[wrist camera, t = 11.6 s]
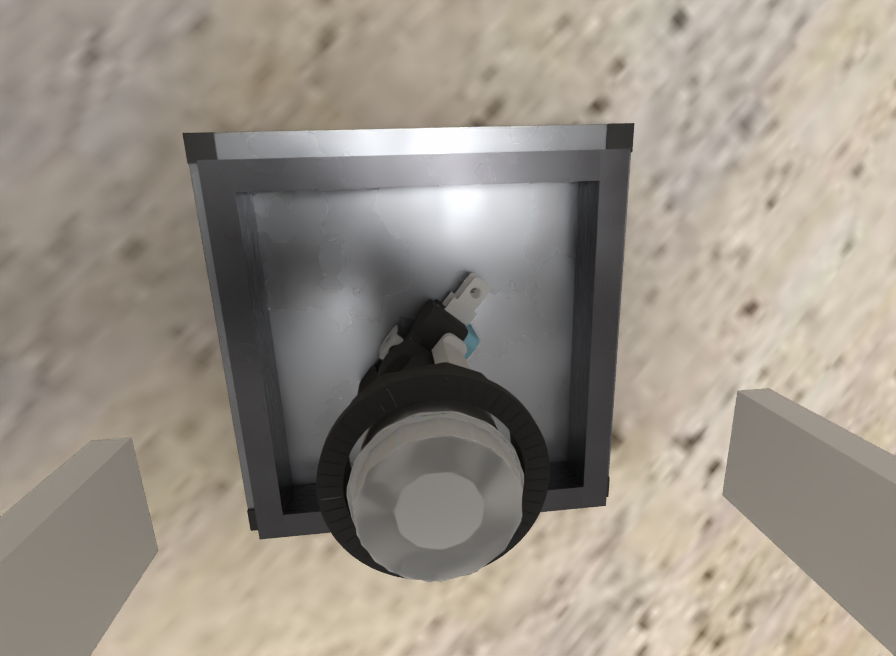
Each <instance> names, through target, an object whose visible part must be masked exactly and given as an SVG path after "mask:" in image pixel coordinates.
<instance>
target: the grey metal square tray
mask: <svg viewBox="0 0 896 656" xmlns="http://www.w3.org/2000/svg"><path fill="white" fill-rule="evenodd" d="M633 134H634V123H623V124H591V125H546V126H500V127H454V128H408V129H362V130H316V131H271V132H225V133H213V132H209V133H183V139H184V145H185V151H186V156H187V162H188V164H189V167H190V173H191V179H192V185H193V191H194V196H195V202H196V208H197V214H198V220H199V226H200V232H201V237H202V243H203V249H204V255H205V261H206V267H207V272H208V278H209V284H210V290H211V296H212V302H213V308H214V313H215V319H216V325H217V331H218V337H219V343H220V348H221V354H222V360H223V366H224V372H225V378H226V384H227V389H228V395H229V401H230V407H231V413H232V419H233V425H234V430H235V436H236V442H237V448H238V454H239V460H240V465H241V471H242V477H243V483H244V489H245V495H246V501H247V506H248V511H247V512H248V518H249V523H250V529H251V531H253V530H258V532H259V538H260V539H268V538H279V537H289V536H299V535H310V534H320V533H330V530H329V528H328V527H327V525H326V523H325V521H324V519H323V516H322V514H321V511H320V507H319V504H318V498H317V492H316V477H317V468H318V463H319V459H320V455H321V452H322V448H323V445H324V443H325V440H326V438H327V436H328V434H329V432H330V430H331V428H332V426H333V425H334V423H335V422H336V420H337V418H338V417H339V416H340V415H341V414H342V412H343V411H344V410H345V409H346V408H347V407H348V406H349V405H350V404H351V401H352V400H353V399H354V398H355V397H356V396H357V393H358V388H359V384H360V382H361V380H362V378H363V377H364V376H365V374H366V373H367V372H368V370H369V369H370V368H371V367H372V366H375V367H376V368H378V369H379V367H380V365H381V363H382V361H383V360H382V359H380V358H379V356H380V354H379V352H380V345H381V344H382V342H383V341H384V339H385V338H386V337H387V335H388V334H389V333H390V331H391V330H392V329H393V327H394V326H396V325H397V326H398V335H399V336H400V337H402V338H403V339H405V337H406V336H407V335H408V334H409V332H410V331H411V329H412V327H413V325H414V323H415V320H416V318H417V316H418V314H419V312H420V311H421V309H422V308H423V307H424V305H425V304H426V303H427V302H428V301H429V300H430V299H432V300H433V301H434V300H436V299H437V300H439V301H440V302H442V303H443V301H444V300H445V299H446V298H447V296H448V295H449V294H450V292H452V293H455V292H456V291H457V290H458V288H459V287H460V286H461V284H462V283H463V282H464V281H465V279H466V278H467V277H468V275H469V274H470V273H475V274H476V275H477V276H478V277H480V278H481V279H482V280H484V281H485V282H486V284H487V285H489V286H490V287H491V291H490V292H489V294H488V295H487V296H486V297H485V299H484V300H483V301H482V302H481V304H480V305H479V306H478V307H477V309H476V310H475V311H474V312H475V313H477V315H476V316H475V318H474V319H473V320H472V321H471V323H470V324H471V326H472V327H473V329H474V331H475V333H476V334H477V336H478V337H479V339H480V342H479V344H478V346H477V348H476V349H475V350H474V352H473V353H472V354H471V355H470V357H469V356H468V358H467V359H466V361H467V364H468V366H469V368H470V369H471V370H475V371H478V372H480V373H482V374H484V375H485V377H486V378H487V379H489V380H491V381H493V382H495V383H497V384H499V385H500V386H502V387H503V388H505V389H506V390H508V391H509V392H510V393H511V394H513V395H514V396H515V397H516V398H517V399H518V400H519V401H520V402H521V403H522V404H523V405H524V406H525V407H526V409H527V410H528V411H529V413H530V414H531V416H532V417H533V419H534V421H535V422H536V424H537V426H538V427H539V429H540V431H541V433H542V435H543V438H544V440H545V443H546V447H547V450H548V456H549V462H550V479H549V486H548V492H547V495H546V499H545V502H544V505H543V507H542V509H541V512H546V511H557V510H567V509H577V508H587V507H598V506H606V497H608V493H609V479H610V478H609V464H610V450H611V435H612V421H613V406H614V392H615V377H616V363H617V348H618V334H619V319H620V305H621V290H622V276H623V261H624V247H625V232H626V218H627V203H628V189H629V174H630V160H631V152H632V148H633ZM467 286H468V285H467ZM476 289H477V288H476V287H475V288H473V289H472V290H471V291H470V293H474V292H475V291H476ZM480 294H481V293H480ZM479 296H480V295H479ZM479 296H478V297H479ZM478 297H477V298H478ZM388 340H389V339H388ZM491 415H492V414H491ZM492 417H493V420H494V422H495V424H496V427H497V429H498V431H499V432H500V433H501V434H502V435H503V436H504V437H505V438H506V439H507V440H508V441H509V442H510V432H509V429H508V428H507V427H506V426H505V425H504V424H503V423H502V422H501V421H500V420H498V419H497V418H496V417H495V416H493V415H492ZM363 435H364V433H363V434H362V435H361V437H360V438H359V439H358V441H357V442H356V444H355V445H354V447H353V449H352V451H351V453H350V455H349V458H350V465H351V468H352V467H353V464H354V461H355V460H356V458H357V456H358V454H359V453H360V451H361V444H362V438H363ZM510 443H511V442H510Z"/></svg>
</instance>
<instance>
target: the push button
mask: <svg viewBox="0 0 896 656" xmlns="http://www.w3.org/2000/svg"><path fill="white" fill-rule="evenodd" d="M467 285H468V286H467ZM475 287H476V288H477V289H476V291H475V292H474V293H470V291H471V290H472V289H473V288H475ZM490 291H491V287H490V286H489V285H487V284H486V282H485V281H484V280H482V279H481V278H480V277H478V276H477V275H476V274H475V273H470V274H469V275H468V277H467V278H466V279H465V281H464V282H463V283H462V284H461V286H460V287H459V288H458V290H457V291H456V292H455V293H452V292H450V294H449V295H448V296H447V298H446V299H445V300H444V301H443V303H442V302H440V301H439V300H437V299H436V300H434V301H433V300H432V299H430V300H429V301H428V302H427V303H426V304H425V305H424V307H423V308H422V309H421V311H420V312H419V314H418V316H417V318H416V320H415V323H414V325H413V327H412V329H411V331H410V332H409V334H408V335H407V336H406V337H405V339H403V338H402V337H400V336H399V335H398V326H397V325H396V326H394V327H393V329H392V330H391V331H390V333H389V334H388V335H387V337H386V338H385V339H384V341H383V342H382V344H381V345H380V352H379V354H380V356H379V358H380V359H382V360H383V361H382V363H381V365H380V367H379V369H378V368H376V367H375V366H372V367H371V368H370V369H369V370H368V372H367V373H366V374H365V376H364V377H363V378H362V380H361V382H360V384H359V388H358V393H357V396H356V397H355V398H354V399H353V400H352V401H351V404H350V405H349V406H348V407H347V408H346V409H345V410H344V411H343V412H342V414H341V415H340V416H339V417H338V418H337V420H336V422H335V423H334V425H333V426H332V428H331V430H330V432H329V434H328V436H327V438H326V440H325V443H324V445H323V448H322V452H321V455H320V459H319V463H318V468H317V477H316V492H317V498H318V504H319V507H320V511H321V514H322V516H323V519H324V521H325V523H326V525H327V527H328V528H329V530H330V532H331V533H332V535H333V536H334V537H335V539H336V540H337V541H338V543H339V544H340V545H341V546H342V547H343V548H344V549H345V550H346V551H347V552H349V553H350V554H351V555H352V556H353V557H355V558H356V559H358V560H359V561H361V562H362V563H364V564H366V565H367V566H369V567H371V568H373V569H376V570H378V571H380V572H383V573H386V574H389V575H392V576H397V577H401V578H407V579H415V580H423V581H427V582H432V581H439V582H442V581H445V580H449V579H453V578H456V577H460V576H465V575H470V574H472V573H474V572H477V571H478V570H479V569H481V568H482V567H484V566H486V565H488V564H490V563H492V562H494V561H495V560H497V559H498V558H500V557H501V556H503V555H504V554H506V553H507V552H508V551H509V550H511V549H512V548H513V547H514V546H515V545H516V544H517V543H518V542H519V541H520V540H521V539H522V538H523V537H524V536H525V535H526V534H527V532H528V531H529V530H530V528H531V527H532V525H533V524H534V523H535V521H536V519H537V517H538V515H539V514H540V512H541V509H542V507H543V505H544V502H545V499H546V495H547V492H548V486H549V479H550V462H549V456H548V450H547V447H546V443H545V440H544V438H543V435H542V433H541V431H540V429H539V427H538V426H537V424H536V422H535V421H534V419H533V417H532V416H531V414H530V413H529V411H528V410H527V409H526V407H525V406H524V405H523V404H522V403H521V402H520V401H519V400H518V399H517V398H516V397H515V396H514V395H513V394H511V393H510V392H509V391H508V390H506V389H505V388H503V387H502V386H500V385H499V384H497V383H495V382H493V381H491V380H489V379H487V378H486V377H485V375H484V374H482V373H480V372H478V371H475V370H471V369H470V368H469V366H468V364H467V361H466V359H467V358H468V356H469V357H470V355H471V354H472V353H473V352H474V350H475V349H476V348H477V346H478V344H479V342H480V339H479V337H478V336H477V334H476V333H475V331H474V329H473V327H472V326H471V324H470V323H471V321H472V320H473V319H474V318H475V316H476V315H477V313H475V312H474V311H475V310H476V309H477V307H478V306H479V305H480V304H481V302H482V301H483V300H484V299H485V297H486V296H487V295H488V294H489V292H490ZM480 293H481V294H480ZM479 295H480V296H479ZM478 296H479V297H478ZM477 297H478V298H477ZM388 339H389V340H388ZM491 414H492V415H493V416H495V417H496V418H497V419H498V420H500V421H501V422H502V423H503V424H504V425H505V426H506V427H507V428H508V429H509V432H510V442H511V443H510V442H509V441H508V440H507V439H506V438H505V437H504V436H503V435H502V434H501V433H500V432H499V431H498V429H497V427H496V424H495V422H494V420H493V417H492V415H491ZM363 433H364V435H363V438H362V444H361V451H360V453H359V454H358V456H357V458H356V460H355V461H354V464H353V467H352V468H351V465H350V458H349V455H350V453H351V451H352V449H353V447H354V445H355V444H356V442H357V441H358V439H359V438H360V437H361V435H362V434H363Z"/></svg>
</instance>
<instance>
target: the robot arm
mask: <svg viewBox="0 0 896 656" xmlns="http://www.w3.org/2000/svg"><path fill="white" fill-rule="evenodd" d="M722 495H723V496H724V497H725V498H726V499H727V500H728V501H729V502H730V503H731V504H733V505H734V506H735V507H736V508H737V509H738V510H739V511H740V512H741V513H742V514H743V515H744V516H745V517H746V518H747V519H749V520H750V521H751V522H752V523H753V524H754V525H755V526H756V527H757V528H758V529H759V530H760V531H761V532H762V533H764V534H765V535H766V536H767V537H768V538H769V539H770V540H771V541H772V542H773V543H774V544H775V545H776V546H777V547H779V548H780V549H781V550H782V551H783V552H784V553H785V554H786V555H787V556H788V557H789V558H790V559H791V560H792V561H794V562H795V563H796V564H797V565H798V566H799V567H800V568H801V569H802V570H803V571H804V572H805V573H806V574H807V575H809V576H810V577H811V578H812V579H813V580H814V581H815V582H816V583H817V584H818V585H819V586H820V587H821V588H822V589H824V590H825V591H826V592H827V593H828V594H829V595H830V596H831V597H832V598H833V599H834V600H835V601H836V602H837V603H839V604H840V605H841V606H842V607H843V608H844V609H845V610H846V611H847V612H848V613H849V614H850V615H851V616H852V617H854V618H855V619H856V620H857V621H858V622H859V623H860V624H861V625H862V626H863V627H864V628H865V629H866V630H867V631H868V632H870V633H871V634H872V635H873V636H874V637H875V638H876V639H877V640H878V641H879V642H880V643H881V644H882V645H883V646H885V647H886V648H887V649H888V650H889V651H890V652H891V653H892V654H893V655H894V656H896V456H894V455H893V454H891V453H889V452H887V451H885V450H883V449H881V448H879V447H878V446H876V445H874V444H872V443H870V442H868V441H866V440H864V439H863V438H861V437H859V436H857V435H855V434H853V433H851V432H850V431H848V430H846V429H844V428H842V427H840V426H838V425H836V424H835V423H833V422H831V421H829V420H827V419H825V418H823V417H821V416H820V415H818V414H816V413H814V412H812V411H810V410H808V409H806V408H805V407H803V406H801V405H799V404H797V403H795V402H793V401H791V400H790V399H788V398H786V397H784V396H782V395H780V394H778V393H777V392H775V391H773V390H771V389H769V388H767V389H754V390H741V391H737V398H736V405H735V411H734V418H733V425H732V432H731V439H730V446H729V453H728V459H727V466H726V473H725V480H724V487H723V494H722ZM157 552H158V547H157V543H156V538H155V534H154V530H153V526H152V522H151V518H150V513H149V509H148V505H147V501H146V497H145V492H144V488H143V484H142V480H141V476H140V471H139V467H138V463H137V459H136V455H135V450H134V446H133V442H132V438H119V439H106V440H94V441H90V442H89V443H88V444H87V445H86V446H84V447H83V448H82V449H81V450H80V451H78V452H77V453H76V454H75V455H74V456H72V457H71V458H70V459H69V460H68V461H66V462H65V463H64V464H63V465H62V466H60V467H59V468H58V469H57V470H56V471H55V472H53V473H52V474H51V475H50V476H49V477H47V478H46V479H45V480H44V481H43V482H41V483H40V484H39V485H38V486H37V487H35V488H34V489H33V490H32V491H31V492H29V493H28V494H27V495H26V496H25V497H23V498H22V499H21V500H20V501H19V502H17V503H16V504H15V505H14V506H13V507H11V508H10V509H9V510H8V511H7V512H6V513H4V514H3V515H2V516H1V517H0V656H90V655H91V654H92V652H93V651H94V649H95V647H96V646H97V644H98V643H99V641H100V640H101V638H102V637H103V635H104V634H105V632H106V630H107V629H108V627H109V626H110V624H111V623H112V621H113V620H114V618H115V617H116V615H117V613H118V612H119V610H120V609H121V607H122V606H123V604H124V603H125V601H126V600H127V598H128V597H129V595H130V593H131V592H132V590H133V589H134V587H135V586H136V584H137V583H138V581H139V580H140V578H141V576H142V575H143V573H144V572H145V570H146V569H147V567H148V566H149V564H150V563H151V561H152V560H153V558H154V556H155V555H156V553H157Z"/></svg>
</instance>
